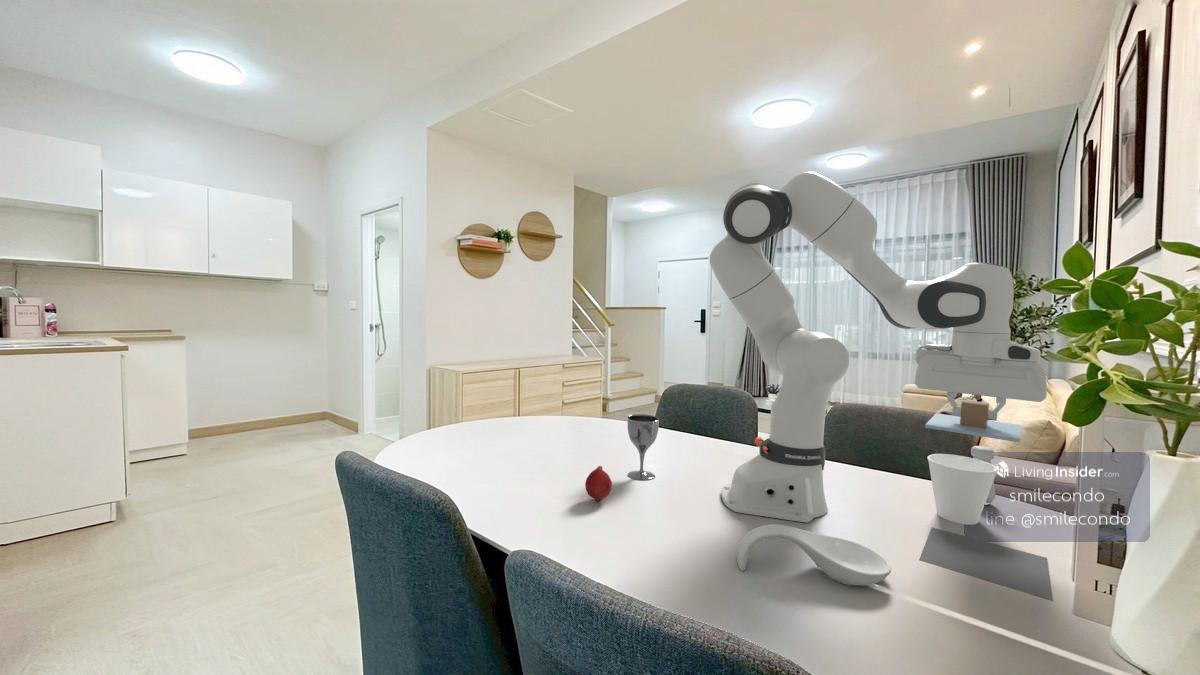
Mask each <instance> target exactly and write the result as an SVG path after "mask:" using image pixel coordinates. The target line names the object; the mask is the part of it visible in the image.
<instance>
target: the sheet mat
mask: <svg viewBox="0 0 1200 675" xmlns="http://www.w3.org/2000/svg"><path fill="white" fill-rule="evenodd" d="M918 560H919V561H921V562H924V563H927V564H931V565H934V566H937V567H941V568H944V569H947V570H950V571H953V572H957V573H960V574H964V575H966V576H970V577H973V578H976V579H980V580H982V581H986V582H990V583H992V584H996V585H999V586H1002V587H1005V588H1008V589H1013V590H1016V591H1018V592H1023V593H1025V594H1029V595H1032V596H1035V597H1039V598H1042V599H1044V600H1049V601H1052V602H1053V601H1054V598H1053V590H1052V583H1051V578H1050V568H1049V563H1048V557H1045V556H1042V555H1038V554H1034V553H1031V552H1026V551H1023V550H1020V549H1015V548H1012V547H1007V546H1005V545H1000V544H996V543H993V542H988V541H985V540H982V539H977V538H975V537H970V536H967V535H962V534H958V533H955V532H951V531H947V530H943V529H940V528H936V527H931V528H930V530H929V533H928V535H927V539H926V541H925V543H924V546H923V549H922V550H921V555H920V557H919V558H918Z"/></svg>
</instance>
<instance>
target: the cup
mask: <svg viewBox="0 0 1200 675" xmlns="http://www.w3.org/2000/svg"><path fill="white" fill-rule="evenodd" d="M927 461H928V467H929V473H930V479H931V485H932V492H933V498H934V503H935V509H936V514H937V515H938V516H939V517H941V518H942V519H945V520H947V521H949V522H952V523H956V524H959V525H968V526H970V525H972V526H973V525H977V524H978V523H979V521H980V519H981V515H982V512H983V511H984V507H985V506H984V505H985V502H986V500H987V497H988V494H989V492H990V489H991V486H992V483H993V481H995V479H996V478H995V477H996V475H997V473H998V471H999V470H998V467H997V466H995V465H994V464H992V463H991V464H990V463H987V462H984V461H981V460H978V459H974V458H973V457H969V456H964V455H957V454H951V453H950V454H949V453H948V454H947V453H932V454H930V455H928V456H927Z"/></svg>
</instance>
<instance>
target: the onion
mask: <svg viewBox="0 0 1200 675" xmlns="http://www.w3.org/2000/svg"><path fill="white" fill-rule="evenodd" d="M612 483H613V482H612V479H611V477H610V475H609V474H608V473H607V472H606V471H604V469H603V466H602V465H599V466H597V467H596V468H595V469H594V470H592V471H591V472H590V473H589V474H588V476H587V477H586V480H585V484H584V487H585V491H586V493H587V495H588V496H589V497H590V498H592V499H593V500H595V501H596V502H599V503H600V502H601V501H602V500H604V499H606V497H607V496H608V495H610V492H612V491H611V490H612V488H613V484H612Z"/></svg>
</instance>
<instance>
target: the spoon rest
mask: <svg viewBox="0 0 1200 675" xmlns="http://www.w3.org/2000/svg"><path fill="white" fill-rule="evenodd" d="M771 538H782V539H786V540H789V541H791V542H792V543H794V544H795V545H797V546H798V547H799V548H801V550H802V551H804V553H805V554H806V555H807V556H808V557H809V558H810V559H811V560H812V561H813V562H814V564H816V566H817V567H818V568H819V569H820V570H821V571H822V572H823V573H825V575H828V576H827V577H829V578H830V579H832V580H833V579H834V581H835V580H836V581H835V582H837V581H839V582H838V583H840V582H842V583H841V584H843V583H845V584H844V585H847V584H850V585H849V586H852V585H860V587H861V586H863V587H864V586H872V585H875V584H878V583H879V582H882V581H883V580H884V579H886V578H887V577H888V576H889V575H890V574H891V572H892V567H891V565H890V563H889V562H888V561H887V559H885V557H883V556H882V555H881V554H880V553H878V552H877V551H874V549H871V548H870V547H868V546H865V545H862V544H860V543H857V542H854V541H851V540H848V539H845V538H840V537H836V536H832V535H826V534H821V533H816V532H812V531H808V530H805V529H801V528H798V527H795V526H790V525H785V524H776V523H775V524H763V525H761V526H758V527H755V528H753V529H751V530H749V531H748V532H747V533H746V534H744V536H743V537H742V538H741V539H740V541H739V544H738V546H737V550H736V553H735V554H736V556H735V557H736V561H737V565H738V568H739V570H740V571H743V572H744V571H745V570H746V568H747V567H748V566H747V564H748V560H749V555H750V552H751V550H752V548H753V547H754V546H755V545H756V544H758V543H759V542H762V541H763V540H767V539H771Z"/></svg>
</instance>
